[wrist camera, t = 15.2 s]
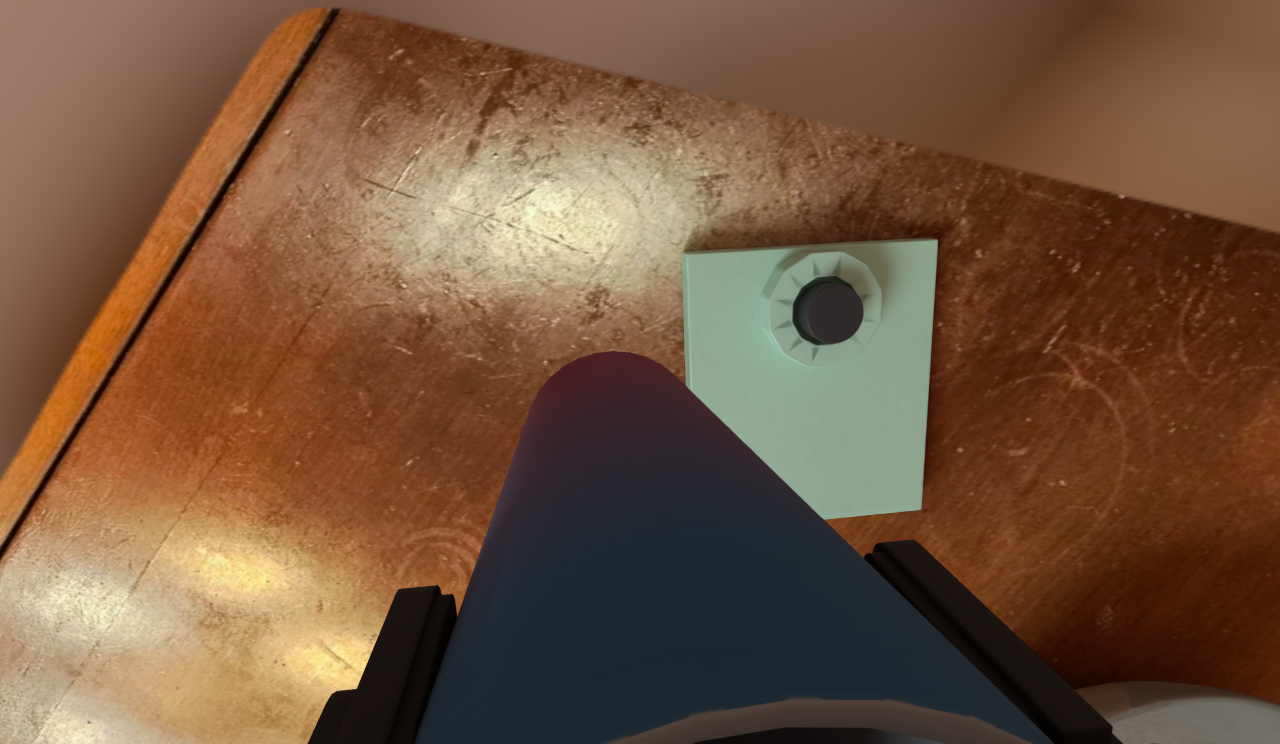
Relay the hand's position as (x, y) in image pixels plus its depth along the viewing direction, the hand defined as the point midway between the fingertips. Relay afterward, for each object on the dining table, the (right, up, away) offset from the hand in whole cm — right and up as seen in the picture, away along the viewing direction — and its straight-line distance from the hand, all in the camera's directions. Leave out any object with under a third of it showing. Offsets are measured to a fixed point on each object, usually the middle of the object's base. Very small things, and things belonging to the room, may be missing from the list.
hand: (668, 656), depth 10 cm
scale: (+8, +4, +27) cm, 29 cm away
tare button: (+9, +7, +23) cm, 26 cm away
